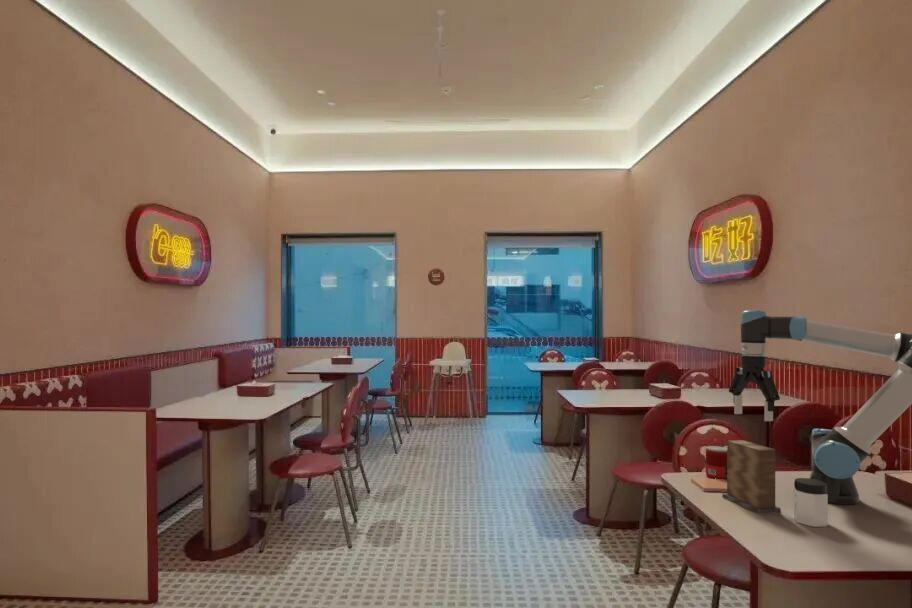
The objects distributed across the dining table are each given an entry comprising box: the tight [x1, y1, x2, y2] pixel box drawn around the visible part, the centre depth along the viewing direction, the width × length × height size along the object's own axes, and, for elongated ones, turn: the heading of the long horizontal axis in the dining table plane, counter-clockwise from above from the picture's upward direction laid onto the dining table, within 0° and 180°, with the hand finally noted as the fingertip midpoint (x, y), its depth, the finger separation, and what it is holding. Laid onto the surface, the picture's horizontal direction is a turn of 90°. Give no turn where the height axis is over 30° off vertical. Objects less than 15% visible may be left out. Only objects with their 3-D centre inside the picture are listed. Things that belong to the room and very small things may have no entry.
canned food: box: [705, 445, 727, 480], centre depth 213 cm, size 8×8×11 cm
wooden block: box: [722, 439, 781, 514], centre depth 182 cm, size 16×8×19 cm, turn 15°
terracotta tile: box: [690, 477, 727, 493], centre depth 200 cm, size 12×12×1 cm
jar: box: [793, 477, 829, 528], centre depth 166 cm, size 9×8×12 cm
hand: (753, 417), depth 191 cm, fingers open, 13 cm apart
